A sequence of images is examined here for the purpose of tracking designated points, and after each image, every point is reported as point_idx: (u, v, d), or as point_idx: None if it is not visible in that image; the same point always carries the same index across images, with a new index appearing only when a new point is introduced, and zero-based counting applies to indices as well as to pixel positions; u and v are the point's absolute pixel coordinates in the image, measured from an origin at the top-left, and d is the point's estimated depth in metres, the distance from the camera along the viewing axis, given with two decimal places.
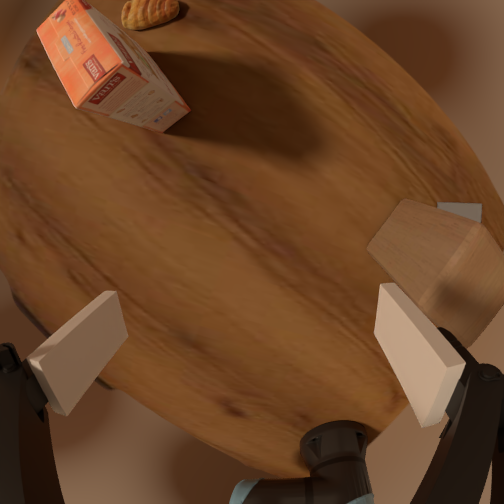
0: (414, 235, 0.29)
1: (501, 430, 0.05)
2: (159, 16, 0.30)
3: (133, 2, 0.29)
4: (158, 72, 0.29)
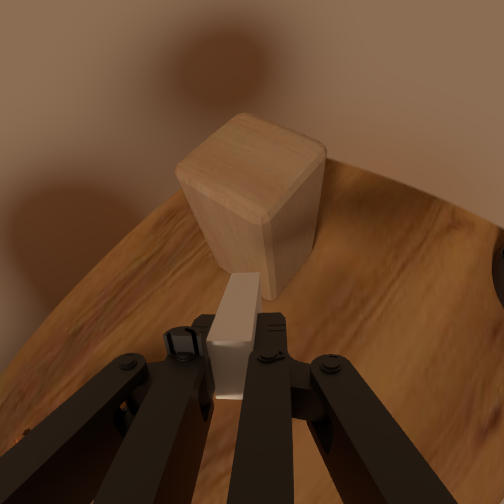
0: (225, 245, 0.30)
1: (320, 429, 0.07)
2: None
3: None
4: None
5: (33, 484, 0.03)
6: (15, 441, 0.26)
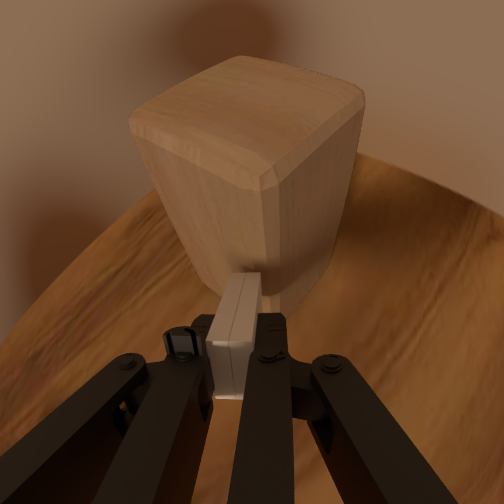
0: (205, 247, 0.19)
1: (320, 429, 0.07)
2: None
3: None
4: None
5: (33, 484, 0.03)
6: None
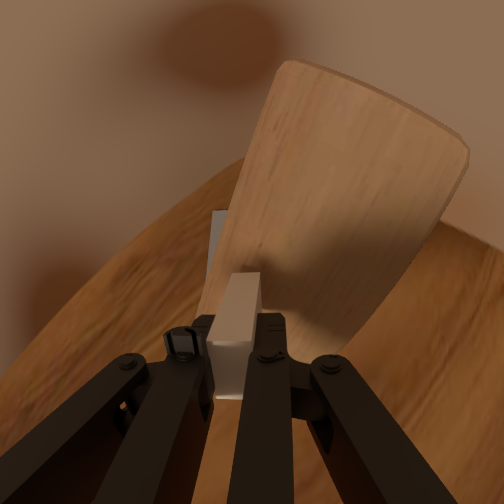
0: (287, 254, 0.15)
1: (320, 429, 0.07)
2: None
3: None
4: None
5: (33, 484, 0.03)
6: None
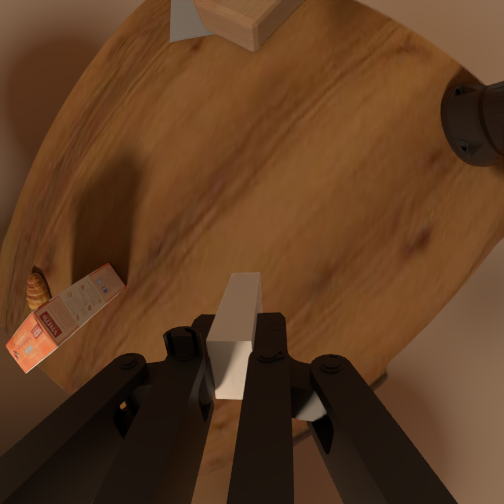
0: None
1: (320, 429, 0.07)
2: (38, 286, 0.48)
3: (31, 307, 0.48)
4: None
5: (33, 484, 0.03)
6: (27, 283, 0.48)
